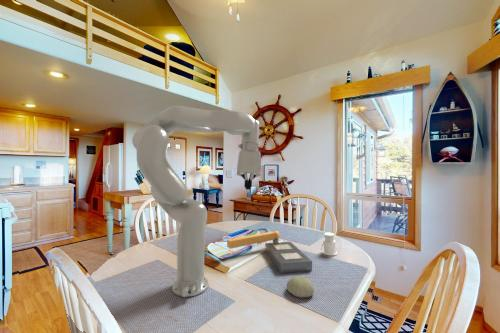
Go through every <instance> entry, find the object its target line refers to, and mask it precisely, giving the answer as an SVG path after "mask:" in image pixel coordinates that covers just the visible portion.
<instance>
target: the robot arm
mask: <svg viewBox="0 0 500 333" xmlns="http://www.w3.org/2000/svg"><path fill="white" fill-rule="evenodd" d="M178 131H180V132H181V131H182V132H195V133H204V134H205V133H206V134H209V133H211V134H213V133H220V132H221V133H222V132H226V133H228V135H232V136H233V135H234V136H241V143H240V144H238V146H237V147H238V149H239V148H240V150H239V152H238V157H237V158H238V159H237V164H236V165H237V166H236V170H237V171H236V175H237V176H239V177H241V178H242V179H243V180H244V188H245V189H246V190H250V191H251V189H252V187H253V185H252V184H253V180H254V179H255V178H257V177H261V176H262V175H261V172H262V158H261V155H262V154H261V151H260V150H259V144H260V143H259V141H260V140H259V139H260V122H259V121H258V120H257V119H255V118H253V116H252V115H251V114H249V113H246V112H239V111H234V110H216V109H214V110H211V109H204V108H203V109H202V108H197V107H190V106H185V105H172V106H169V107H167V108H165V109H163V110H161V111H160V112H159V113H158V114H156V115H155V116H154V117H153V118H152V119H150V120H149V121H148V122H146V123H145V124H144V125H143V126H141V127H140V128H139V129H137V130H136V131H135V132H134V134H133V136H132V139H131V142H132V146H133V147H134V148H135V149H136V163H137V167H138V169H139V171H140V173H141V175H142V176H143V177H144V178H145V180H146V181H147V182H148V184H149V185H150V194H151V196H152V197H153V199H154V200H155V202H156V203H157V204H158V205H159V206H160V208H161V209H162V210H164V212H165V213H166V214H167V215H168V217H170V218H171V219H172V220H173V221H175V222H177V223H179V224H180V225H179V229H178V232H177V238H176V239H177V240H176V241H177V243H176V244H177V246H176V250H177V251H176V256H177V258H176V259H177V260H176V280H175V281H174V282H173V283H172V287H171V290H172V293H173V294H174V295H175V296H178V297H181V298H182V297H183V298H188V297H194V296H198V295H201V294H202V293H203V292H205V291H206V290H207V289H208V286H209V281H208V279H207V278H206V277H205V245H206V244H205V239H206V238H205V235H206V234H205V233H206V227H207V226H206V225H207V221H208V210H207V207H206V206H205V205H204V203H202V202H201V201H199V200H197V199H192V198H189V197H188V194H189V192H188V191H189V190H188V187H187V185H186V184H185V182H183V180H182V179H181V177H180V176H179V174H177V172H176V171H175V169H173V167H172V166H171V165H170V163H169V162H168V158H167V153H166V152H167V148H168V145H169V139H170V138H169V137H170V136H172V134H174V132H178ZM248 174H249V177H248Z"/></svg>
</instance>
